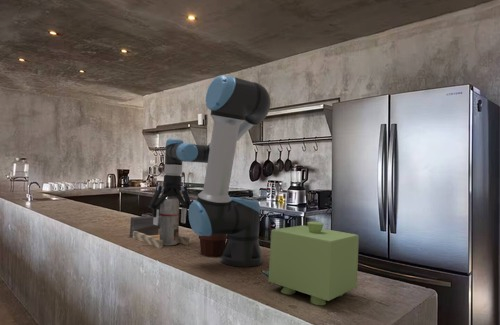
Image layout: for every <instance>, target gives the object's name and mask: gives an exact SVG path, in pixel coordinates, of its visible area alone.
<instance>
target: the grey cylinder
mask: <svg viewBox="0 0 500 325" xmlns="http://www.w3.org/2000/svg"><path fill="white" fill-rule="evenodd" d="M159 207H160V208H159V216H160V240H163V246H177V244H179V242H178V234H180V233H179V231H180V230H179V227H180V226H179V225H180V224H179V222H180V201H179V200H178V198H177V197H172V198H167V199H165V200H164V201H163V202H162V204H161V205H160V206H159Z"/></svg>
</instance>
